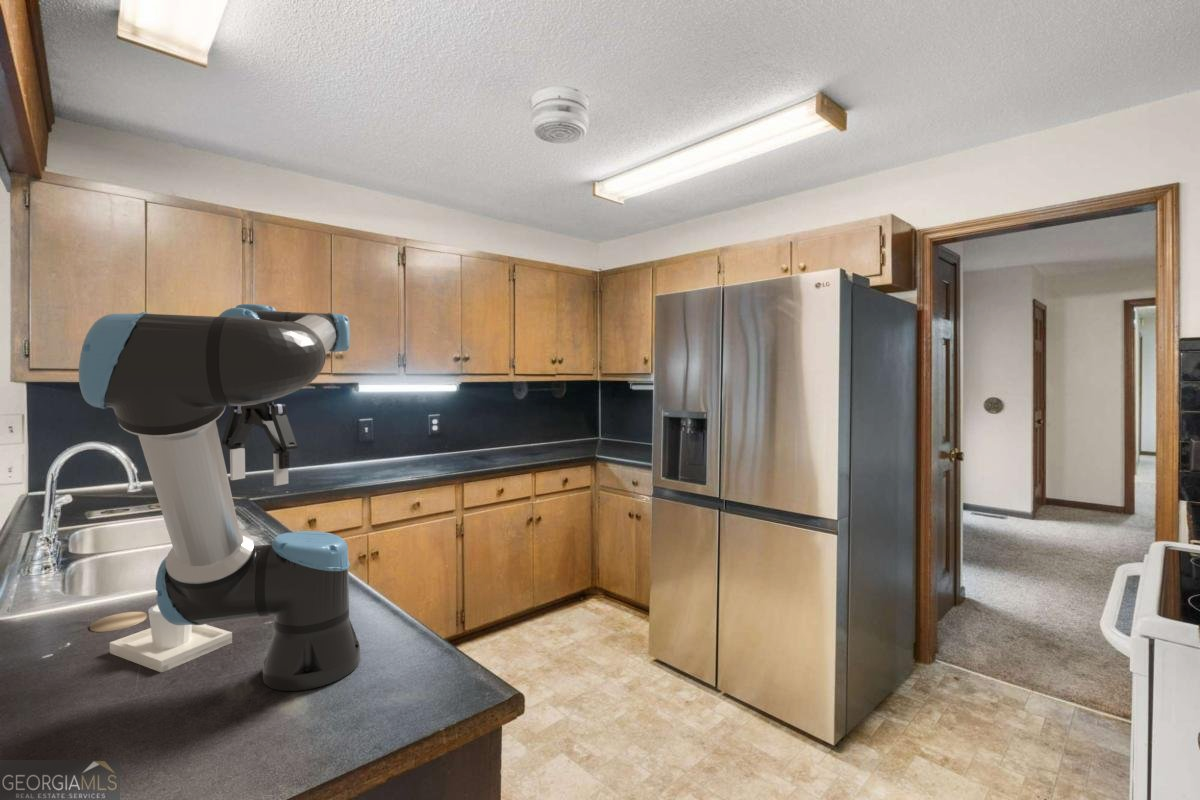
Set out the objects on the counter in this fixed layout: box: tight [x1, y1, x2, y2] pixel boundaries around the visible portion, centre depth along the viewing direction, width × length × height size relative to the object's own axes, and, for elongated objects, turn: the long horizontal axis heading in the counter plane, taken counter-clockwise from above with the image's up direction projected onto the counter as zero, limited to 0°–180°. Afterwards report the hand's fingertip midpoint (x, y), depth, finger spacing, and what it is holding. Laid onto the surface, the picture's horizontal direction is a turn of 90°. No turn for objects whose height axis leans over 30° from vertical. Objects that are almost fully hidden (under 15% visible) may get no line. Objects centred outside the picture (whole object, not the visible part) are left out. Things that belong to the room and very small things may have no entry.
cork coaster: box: [89, 611, 148, 633], centre depth 115 cm, size 9×9×1 cm
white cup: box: [147, 603, 192, 650], centre depth 104 cm, size 7×7×7 cm
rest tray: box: [109, 624, 233, 674], centre depth 105 cm, size 16×12×2 cm
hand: (259, 481), depth 117 cm, fingers open, 13 cm apart
